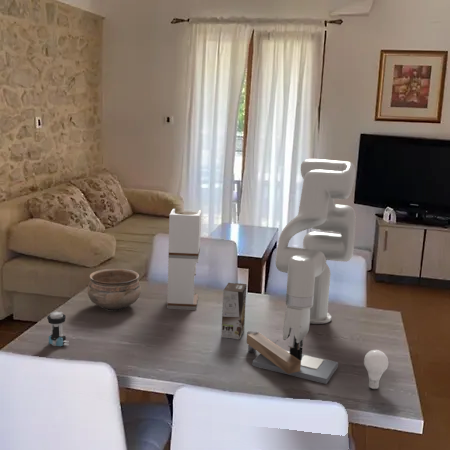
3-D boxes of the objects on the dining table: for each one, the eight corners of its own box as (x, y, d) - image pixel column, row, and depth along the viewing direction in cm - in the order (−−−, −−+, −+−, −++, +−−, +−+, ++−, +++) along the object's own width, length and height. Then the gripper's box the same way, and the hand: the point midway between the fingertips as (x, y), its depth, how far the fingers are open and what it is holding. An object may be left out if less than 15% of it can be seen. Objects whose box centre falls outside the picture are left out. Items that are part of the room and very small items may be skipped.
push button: (73, 343, 177) (72, 312, 175) (63, 350, 172) (62, 318, 170) (54, 339, 179) (54, 309, 177) (44, 346, 174) (43, 315, 172)
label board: (267, 350, 178) (267, 345, 177) (337, 367, 169) (338, 361, 168) (252, 365, 167) (252, 359, 167) (326, 383, 158) (326, 377, 158)
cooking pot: (110, 293, 223) (110, 263, 221) (153, 301, 217) (154, 270, 214) (71, 314, 201) (71, 280, 198) (118, 323, 194) (118, 289, 191)
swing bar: (254, 339, 179) (255, 330, 178) (300, 371, 158) (301, 361, 158) (243, 341, 177) (244, 332, 176) (288, 373, 156) (288, 363, 156)
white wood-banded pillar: (196, 309, 210) (199, 215, 203) (167, 308, 210) (169, 214, 203) (198, 299, 221) (201, 210, 214) (170, 298, 222) (172, 208, 214)
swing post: (249, 349, 178) (250, 341, 178) (256, 350, 177) (257, 342, 177) (246, 352, 176) (247, 343, 176) (254, 353, 175) (254, 345, 175)
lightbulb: (358, 382, 159) (362, 345, 157) (380, 382, 160) (384, 345, 158) (365, 394, 153) (369, 355, 151) (388, 394, 154) (393, 355, 151)
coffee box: (240, 339, 185) (242, 292, 182) (220, 337, 186) (222, 289, 183) (244, 329, 194) (247, 283, 191) (226, 327, 195) (228, 281, 192)
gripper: (295, 289, 168) (291, 347, 172) (277, 305, 155) (273, 368, 159) (320, 294, 165) (315, 353, 169) (304, 310, 152) (299, 374, 156)
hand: (295, 360), depth 164 cm, fingers closed
